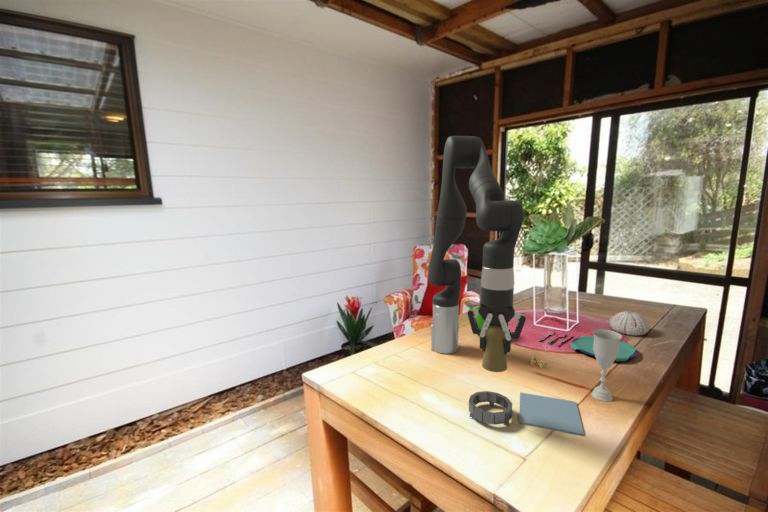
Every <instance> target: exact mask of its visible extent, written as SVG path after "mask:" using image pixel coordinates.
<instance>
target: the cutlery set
mask: <svg viewBox="0 0 768 512" xmlns="http://www.w3.org/2000/svg"><path fill="white" fill-rule="evenodd" d="M549 333H550V332H548V333H547V335H548V334H549ZM542 339H544V338H543V337H541V338H539V339H538V341H539V340H540V341H541V340H542ZM562 339H563V340H561V342H562V341H563V342H565V341H566V342H567V340H565V339H566V338H565V339H564V338H562ZM553 340H554V341H556V340H555V339H554V338H552V339H551V340H548V341H547V344H548V343H550V344H552V343H553V342H554V341H553ZM552 341H553V342H552ZM541 342H542V341H541ZM551 342H552V343H551ZM566 342H565V343H566ZM593 344H594V335H582V336H579V337H577V338H573V340H572V341H571V344H570V347H571V349H572V348H573V349H574V350H575V351H576V350H578V351H579V352H581V353H583V354H586V355H589V356H592V357H595V354H594V350H593ZM557 345H558V344H557ZM559 346H560V345H558V347H559ZM573 349H572V350H573ZM574 350H573V351H574ZM637 356H638V348H637V347H635V346H633V344H630V343H629V342H626V341H620V342H619V353H618V356H617V357H616V359H615V361H616V362H626V361H628V360H629V359H633V358H635V357H637Z"/></svg>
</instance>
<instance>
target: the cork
mask: <svg viewBox="0 0 768 512" xmlns="http://www.w3.org/2000/svg"><path fill="white" fill-rule="evenodd" d="M485 335H486V336H487V338H486V345H485V351H483V352H484V353H483V357H482V363H481V366H482V368H483V369H484V370H486V371H488V372H492V373H503V372H505V371H507V369H508V363H507V361H508V360H507V355H506V354H504V347H505V332H503V329H502V327H499V326H489V327H488V329H487V330H485Z"/></svg>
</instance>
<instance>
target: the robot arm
mask: <svg viewBox="0 0 768 512" xmlns="http://www.w3.org/2000/svg"><path fill="white" fill-rule="evenodd" d="M456 169H474V170H473V172H472V174H471V175H470V177H469V180H468V189H469V192H470V194H471V196H472V198H473V201H474V203H475V211H476V213H475V220H476V225H477V227H478V228H479V229H481V230H482V231H483V232H501V235H500V237H498V238H497V239H495V240H490V241H487V242H485V243H484V245H483V247H482V268H481V269H482V270H481V275H480V305H479V306H480V307H479V308H478V309H473V308H472V307H471V308H469V309H468V311H467V316H468V320H469V324H470V328H471V331H472V334H473V335H477V336H478V335H479V336H480V337H479V336H478V337H479V348H480V349H481V351H482V352H484V351H485V345H486V335H485V330H487V329H488V327H489V326H499V327H502V329H503V332H505V338H504V342H505V347H504V354H506V356H507V355H508V354H509V353H511V351H512V350H511V349H512V348H511V347H512V340H519V339H520V336H521V333H522V330H523V327H524V326H525V323H526V319H527V315H526V313H519V312H517V311H516V310H515V309H514V291H515V289H514V288H515V272H514V263H515V248H516V245H517V242H518V239H519V235H520V231H521V229H522V227H523V223H524V219H525V214H524V213H525V211H524V208H523V207H522V204H521V203H520V202H519V201H518V200H517V201H516V200H504V198H505V194H504V191H503V188H502V186H500V183H499V181H498V180H497V178H496V176H495V175H494V172H493V170H492V167H491V163H490V160H489V155H488V153H487V149H486V146H485V144H484V141H483V140H482V139H481V138H480V137H478V136H473V135H450V136H448V137H447V139H446V141H445V144H444V149H443V159H442V176H441V187H440V194H439V195H440V196H439V201H438V206H437V214H436V220H435V221H436V222H435V223H436V224H435V232H434V238H433V239H434V241H433V245H432V251H431V255H430V258H429V259H430V260H429V263H428V268H427V269H428V272H427V276H428V277H427V278H428V282H429V283H430V285H431V286H434V287H442V286H443V287H444V286H445V288H443V289H442V290H441V291H439V292H436V293H435V294H434V295H433V296H432V324H431V327H430V328H431V333H430V334H431V340H430V341H431V343H430V344H431V345H430V346H431V347H430V348H431V349H430V350H432V351H435V352H436V353H440V354H445V355H446V354H448V355H449V354H454V353H456V352H458V350H459V330H460V329H459V328H460V327H459V319H460V318H459V312H460V310H459V309H460V307H459V303H460V296H461V281H462V267H461V264H460V262H459V260H457V259H455V258H450V259H445V256H446V255H447V252H448V251H449V249H450V248H451V247H452V246H453V244H454V243H455V242H456V241H457V240H458V239H459V237H460V236H461V234H462V233H463V231H464V229H465V225H466V219H467V213H468V208H467V205H466V202H465V201H464V198H463V197H462V194H461V193H460V190H459V188H458V186H457V185H458V184H457V183H456ZM478 313H479V314H480V315H481V317H482V318H483V319H484V321H485V322H484V325H483V327H482V329H480V328H478V324H477V320H476V318H477V315H478ZM513 318H515V322H516V323H517V324H516V327H515V330H514V331H512V332H511V329H510V325H509V323H510V321H511V320H512V319H513Z"/></svg>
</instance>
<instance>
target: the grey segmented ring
mask: <svg viewBox="0 0 768 512" xmlns="http://www.w3.org/2000/svg"><path fill="white" fill-rule="evenodd" d="M480 403H488V404H489V405H488V406H489V407H495V404H497V405H498V406H500V407H502V408H503V409H504V410H502V411H496V412H492V411H487V410H483V409H481V408H480V407H477V405H478V404H480ZM468 411H469V418H470V417H472V418H471V419H473V418H475V419H476V420H477V421H480V422H481V423H485V424H488V425H504V426H508V427H509V426H510V420H512V418H513V417H512V416H513V403H512V401H511V399H509V398H508V397H507V396H505V395H503V394H501V393H499V392H494V391H490V390H489V391H487V390H483V391H476V392H474V393H472V394H471V395H470V396H469V400H468Z"/></svg>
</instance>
